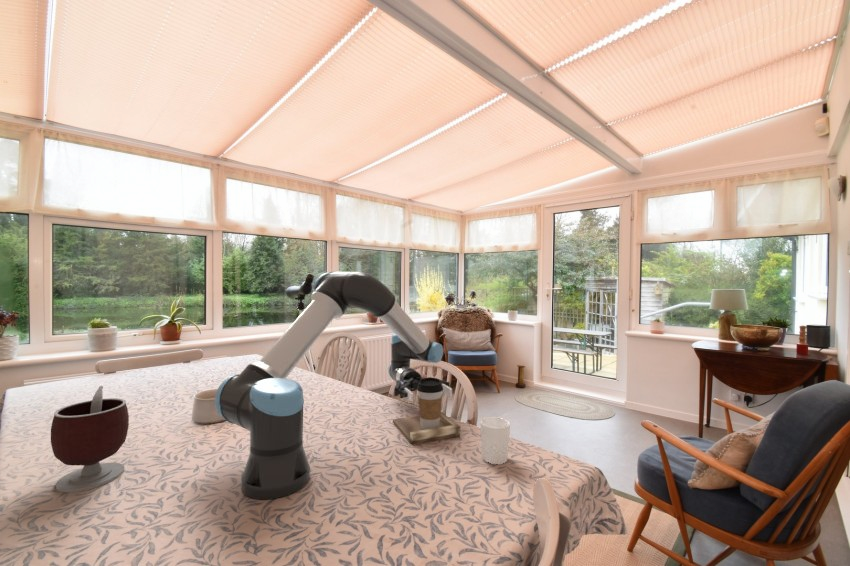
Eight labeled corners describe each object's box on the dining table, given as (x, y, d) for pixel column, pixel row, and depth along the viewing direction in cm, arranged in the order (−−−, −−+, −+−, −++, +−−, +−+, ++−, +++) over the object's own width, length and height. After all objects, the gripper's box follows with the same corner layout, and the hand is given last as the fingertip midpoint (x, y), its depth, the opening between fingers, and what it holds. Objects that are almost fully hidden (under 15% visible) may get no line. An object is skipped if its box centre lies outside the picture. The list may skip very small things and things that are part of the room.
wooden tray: (412, 445, 108) (412, 434, 108) (392, 422, 125) (392, 413, 125) (460, 436, 115) (460, 426, 115) (435, 416, 131) (435, 407, 131)
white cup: (512, 466, 97) (512, 428, 97) (482, 465, 97) (482, 427, 97) (506, 452, 105) (506, 417, 105) (478, 451, 105) (478, 416, 105)
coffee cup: (443, 422, 122) (443, 377, 122) (442, 433, 114) (442, 384, 114) (418, 421, 123) (418, 376, 123) (415, 432, 115) (415, 384, 115)
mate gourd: (122, 484, 86) (122, 398, 86) (39, 501, 79) (39, 408, 79) (134, 456, 100) (134, 382, 100) (65, 468, 93) (65, 389, 93)
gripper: (439, 385, 143) (466, 402, 123) (376, 392, 133) (394, 412, 114) (439, 366, 143) (466, 380, 123) (376, 371, 133) (395, 387, 114)
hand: (432, 395), depth 118 cm, fingers open, 13 cm apart
